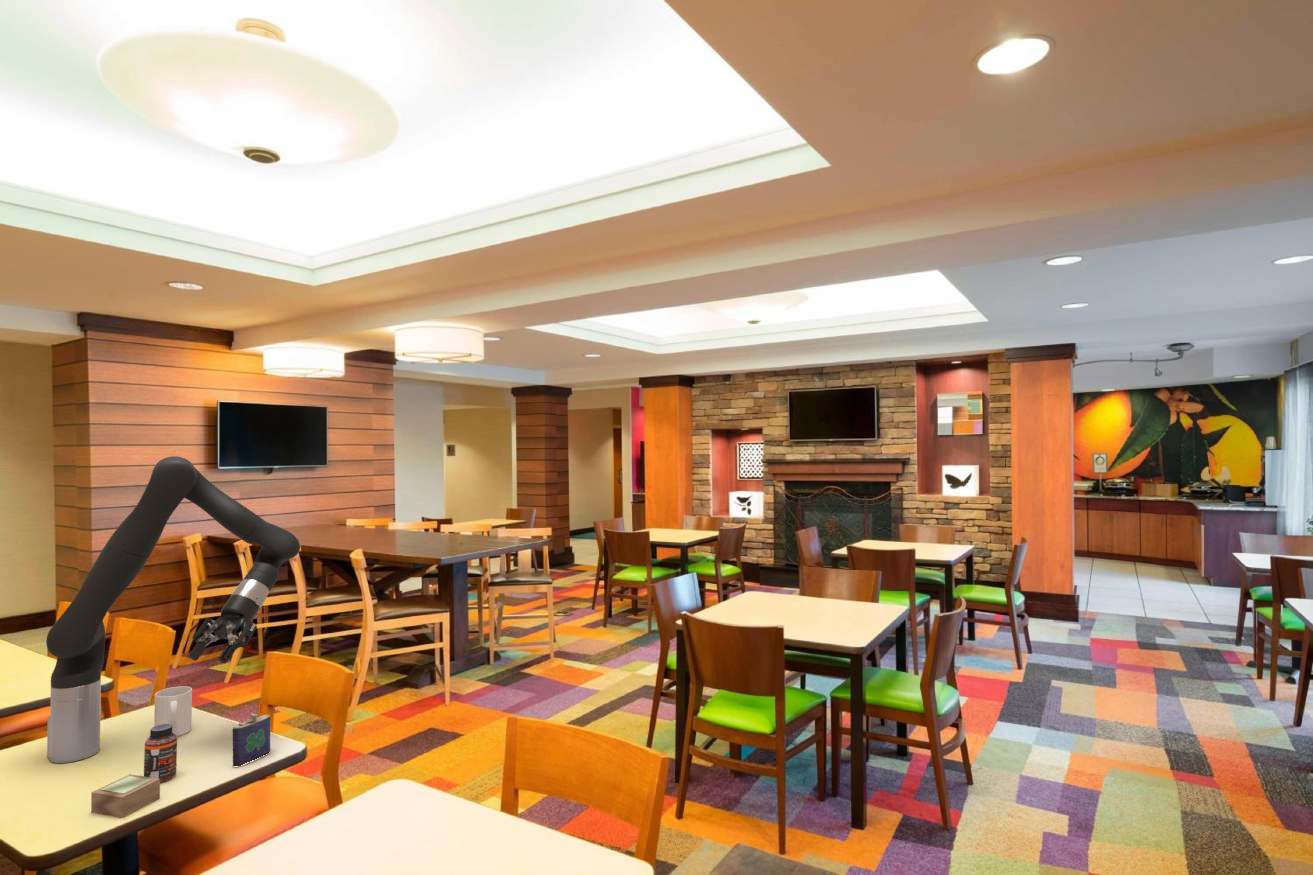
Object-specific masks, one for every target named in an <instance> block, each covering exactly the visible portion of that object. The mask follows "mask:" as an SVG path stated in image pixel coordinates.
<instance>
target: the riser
mask: <svg viewBox="0 0 1313 875" xmlns="http://www.w3.org/2000/svg"><path fill="white" fill-rule="evenodd" d="M90 798H91V799H90V800H91V803H90V804H91V805H90V806H91V807H90V808H91V813H93V814H99V815H100V814H101V815H104V816H111V817H116V818H117V817H118V818H122V819H123V818H125V817H127V816H128V815H130V814H132V813H134V812H136V811H138V810H141V809H142V808H144V807H146V806H148V805H149V804H151V803H153V802H155V801H157V800H159V799H160V798H161V782H160V779H157V778H151V777H144V775H137V774H132V773H131V774H128V775H125V776H123V777H121V778H119V779H117V780H115V781H113V782H111V783H109V784H106V785H104V786H102V787H100V788H98V789H96V790H93V791H91V797H90Z"/></svg>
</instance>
